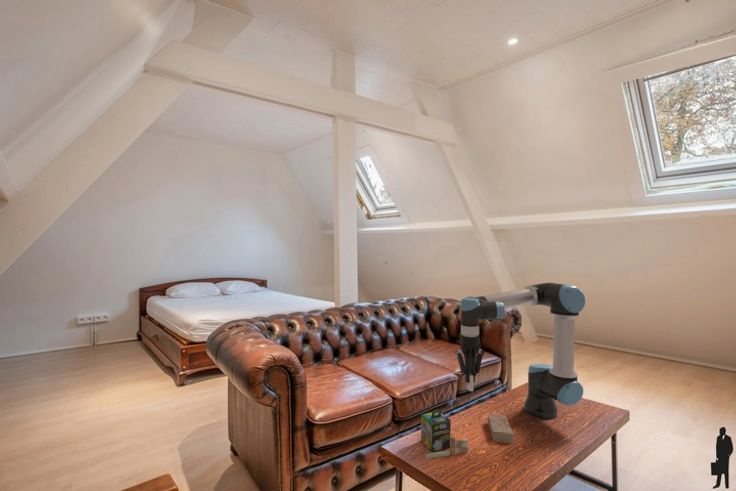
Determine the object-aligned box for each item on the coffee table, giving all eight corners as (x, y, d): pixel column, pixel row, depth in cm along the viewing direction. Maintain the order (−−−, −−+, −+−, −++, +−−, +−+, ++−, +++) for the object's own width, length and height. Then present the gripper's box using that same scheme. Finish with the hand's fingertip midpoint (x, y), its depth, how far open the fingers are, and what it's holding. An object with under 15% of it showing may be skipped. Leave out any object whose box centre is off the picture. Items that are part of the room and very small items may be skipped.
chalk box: (438, 436, 158) (439, 402, 158) (451, 448, 150) (451, 411, 150) (420, 440, 155) (420, 405, 155) (431, 452, 146) (432, 415, 146)
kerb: (448, 453, 146) (448, 450, 146) (449, 455, 145) (449, 452, 145) (425, 457, 143) (425, 454, 143) (426, 458, 142) (426, 455, 142)
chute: (447, 430, 163) (447, 416, 163) (468, 452, 146) (468, 436, 146) (433, 432, 161) (433, 418, 161) (452, 455, 145) (452, 438, 145)
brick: (514, 444, 154) (514, 433, 154) (493, 442, 155) (493, 431, 155) (505, 425, 170) (506, 414, 170) (487, 423, 171) (487, 413, 171)
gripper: (478, 331, 162) (478, 384, 163) (451, 333, 159) (452, 388, 159) (488, 335, 155) (488, 391, 155) (460, 338, 151) (460, 395, 152)
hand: (470, 389), depth 157 cm, fingers closed
